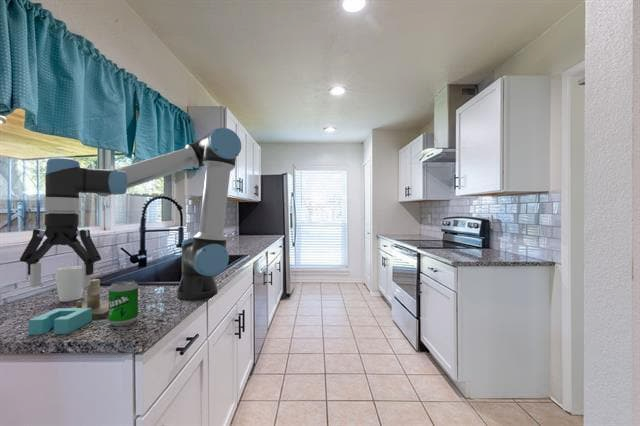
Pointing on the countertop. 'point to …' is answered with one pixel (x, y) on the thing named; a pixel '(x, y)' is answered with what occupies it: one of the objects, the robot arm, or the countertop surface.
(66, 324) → the teal u-shaped block
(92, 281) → the post fixture
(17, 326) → the countertop surface
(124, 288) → the soda can
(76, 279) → the cup
